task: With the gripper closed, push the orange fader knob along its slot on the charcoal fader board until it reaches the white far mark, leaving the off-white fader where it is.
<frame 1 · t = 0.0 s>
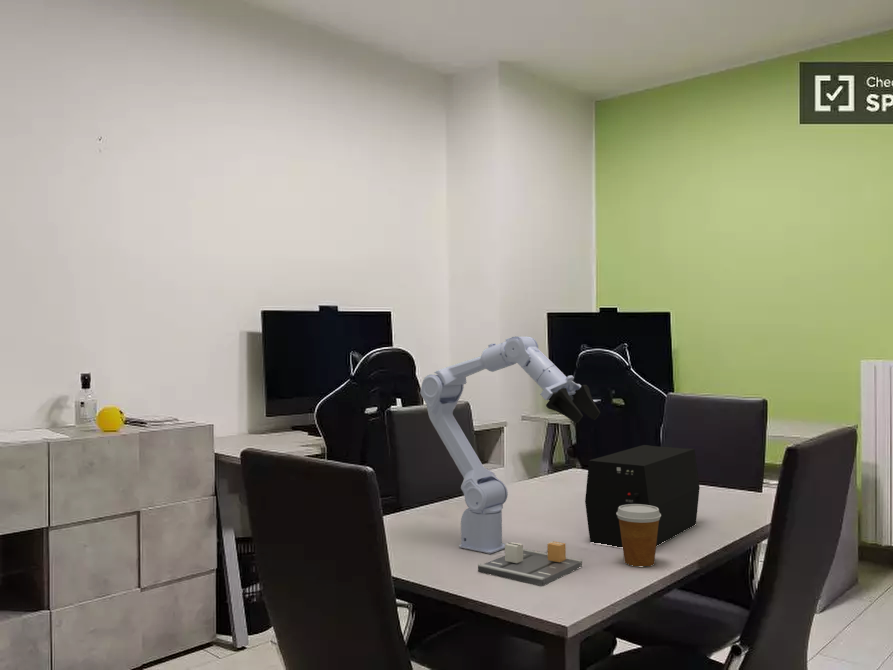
hand: (588, 418, 165), 32 cm above the table, tool tilted 50°, fingers open, 7 cm apart
uninterruptible power supply: (643, 535, 193), on the table
fader a: (514, 552, 166), point 3 cm above the table, slide at 6.0 cm
disposable coffee cup: (639, 564, 168), on the table
fader b: (556, 551, 167), point 3 cm above the table, slide at 0.0 cm
fader board: (530, 569, 165), on the table
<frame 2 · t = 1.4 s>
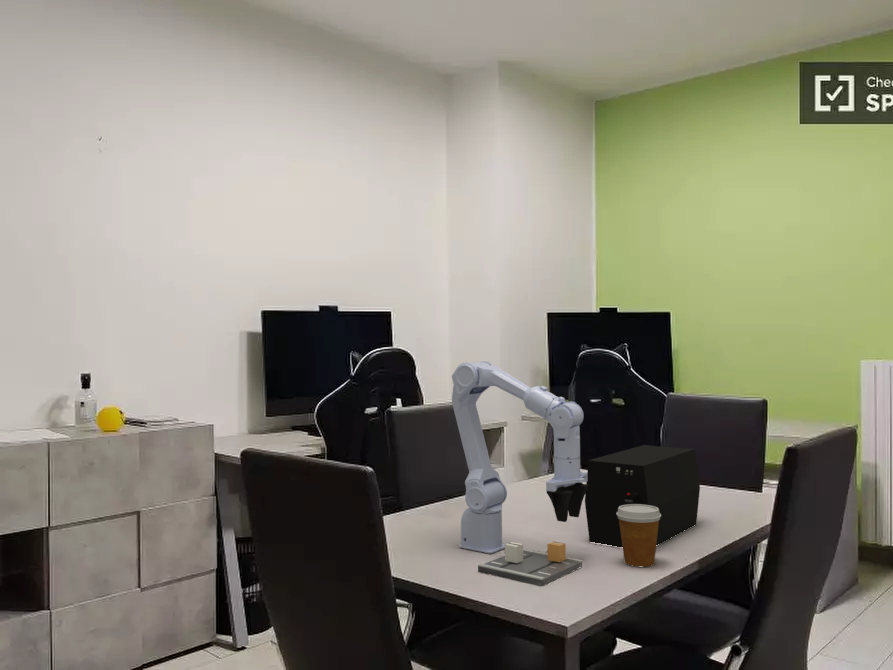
hand: (568, 518, 170), 9 cm above the table, tool pointing down, fingers open, 5 cm apart
nothing on the table moved.
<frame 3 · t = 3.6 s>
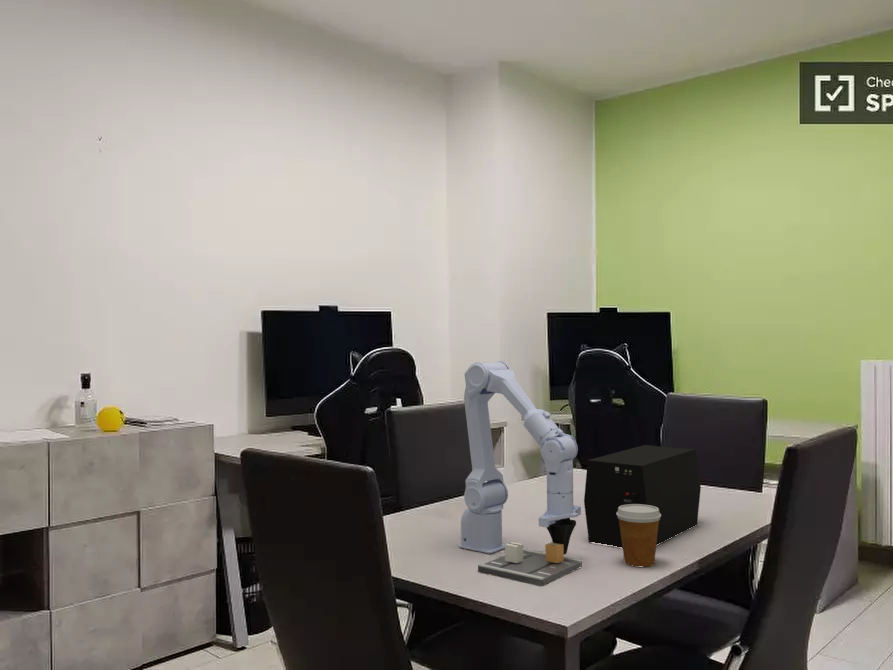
hand: (560, 553, 168), 2 cm above the table, tool pointing down, fingers closed
fader b: (554, 552, 166), point 3 cm above the table, slide at 0.9 cm, touching gripper
everything else where it was.
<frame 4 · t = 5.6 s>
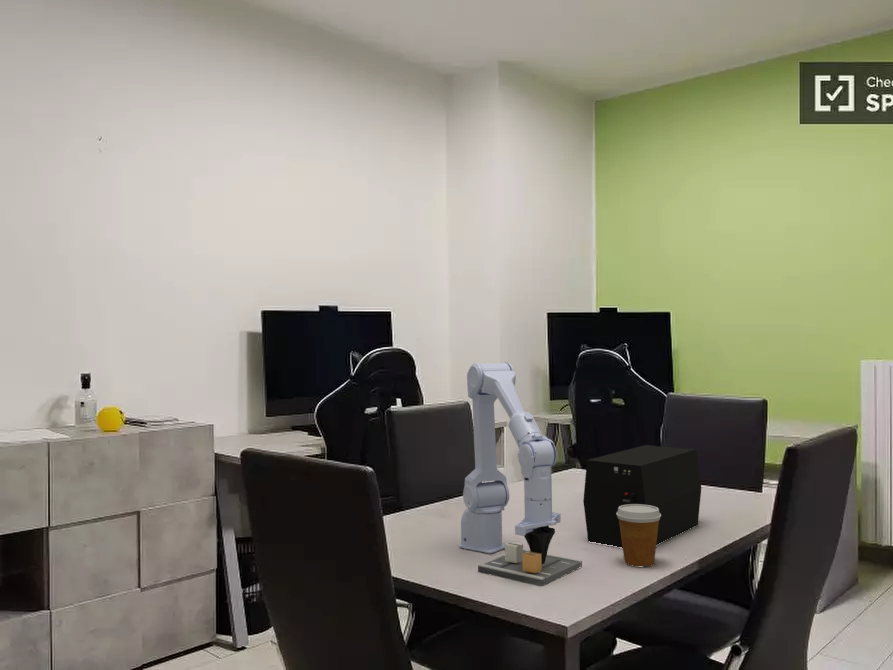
hand: (539, 563, 161), 2 cm above the table, tool pointing down, fingers closed
fader b: (532, 561, 159), point 3 cm above the table, slide at 9.6 cm, touching gripper
everything else where it was.
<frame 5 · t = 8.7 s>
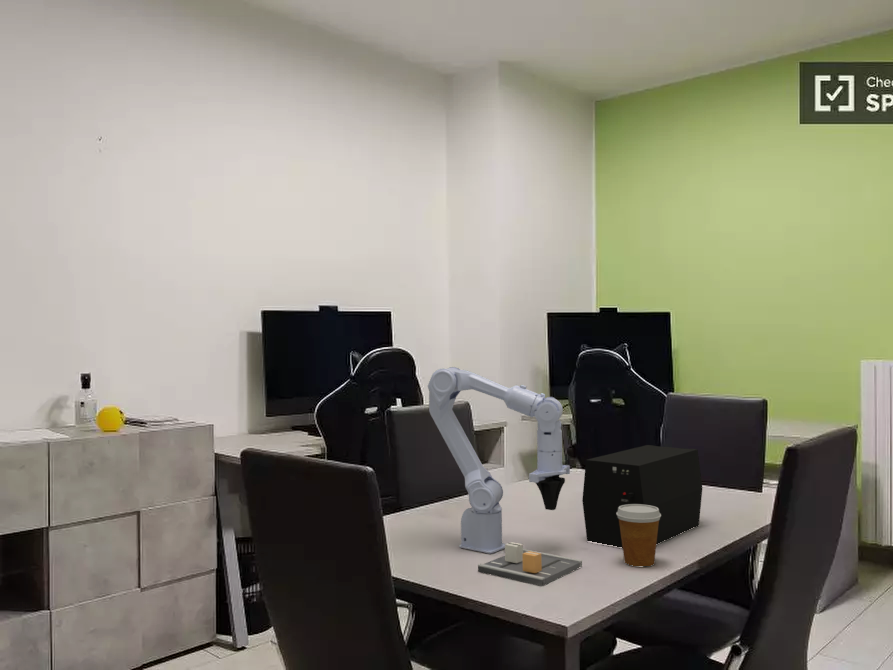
hand: (550, 509, 178), 10 cm above the table, tool pointing down, fingers closed
fader b: (532, 561, 159), point 3 cm above the table, slide at 9.6 cm
everything else where it was.
at the end: fader b slide at 9.6 cm; fader a slide at 6.0 cm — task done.
